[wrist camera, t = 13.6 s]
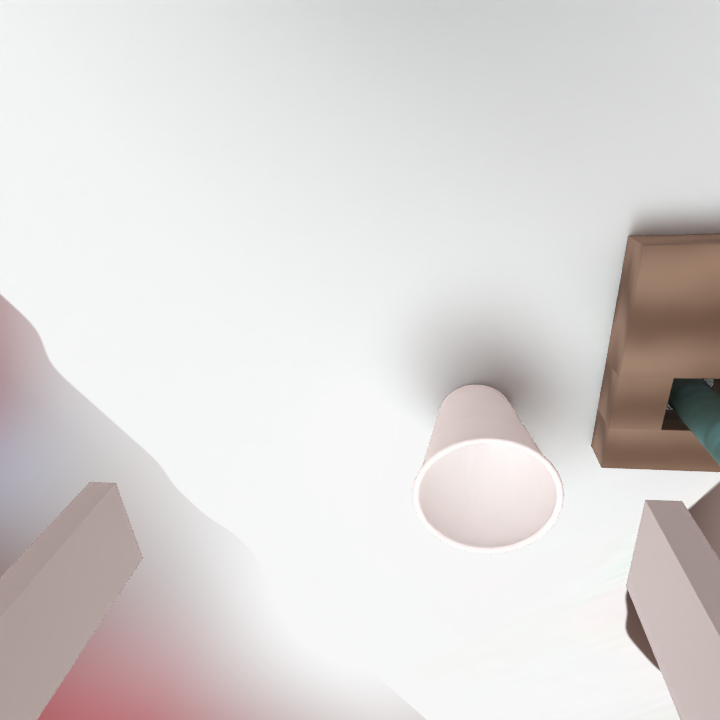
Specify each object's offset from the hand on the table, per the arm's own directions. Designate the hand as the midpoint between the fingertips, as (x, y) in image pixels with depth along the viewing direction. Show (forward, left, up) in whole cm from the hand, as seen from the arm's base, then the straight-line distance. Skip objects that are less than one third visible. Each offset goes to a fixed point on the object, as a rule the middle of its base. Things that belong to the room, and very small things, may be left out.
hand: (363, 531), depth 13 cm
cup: (+14, +5, -29) cm, 32 cm away
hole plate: (+8, +21, -29) cm, 37 cm away
